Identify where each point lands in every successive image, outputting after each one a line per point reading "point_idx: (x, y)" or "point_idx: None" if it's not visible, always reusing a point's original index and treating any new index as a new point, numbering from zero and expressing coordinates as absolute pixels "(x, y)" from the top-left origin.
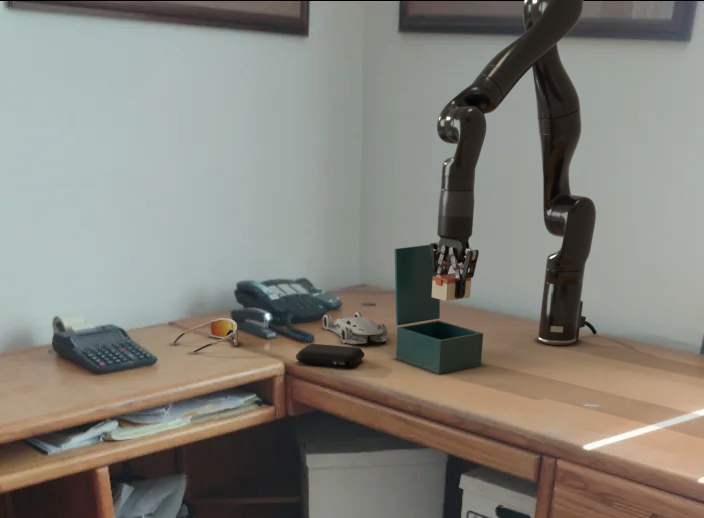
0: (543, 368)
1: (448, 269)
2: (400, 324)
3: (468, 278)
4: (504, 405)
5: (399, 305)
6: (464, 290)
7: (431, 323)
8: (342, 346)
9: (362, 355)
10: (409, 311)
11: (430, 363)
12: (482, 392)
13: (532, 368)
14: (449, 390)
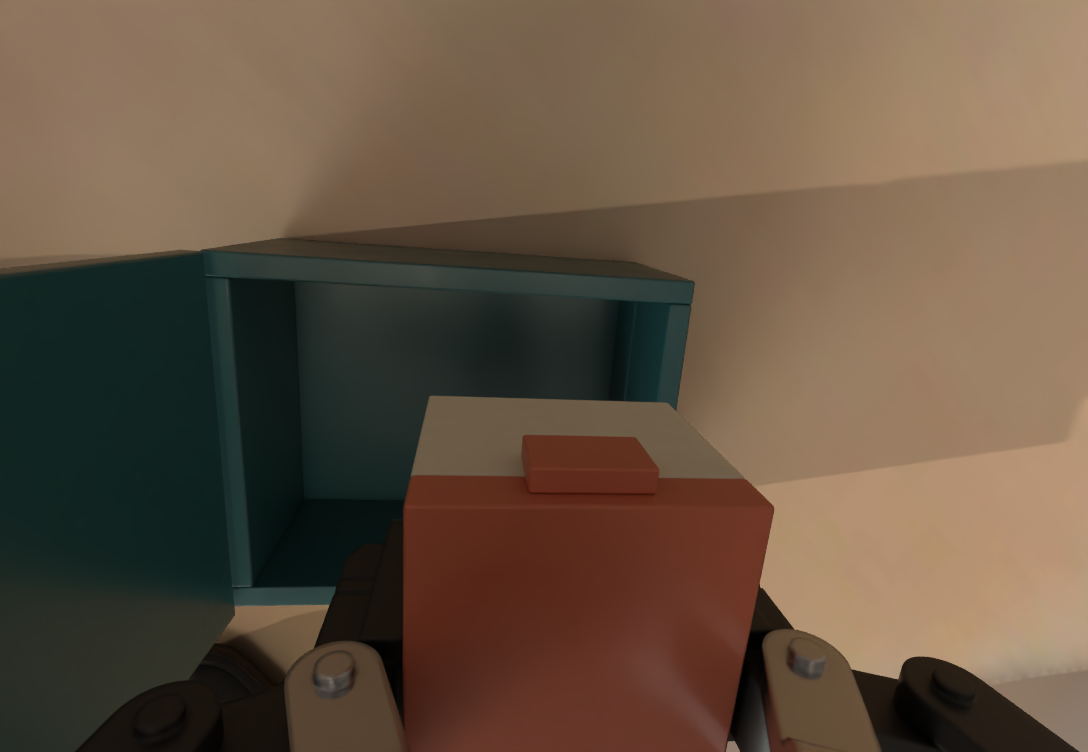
0: (882, 38)
1: (401, 732)
2: (232, 599)
3: (882, 681)
4: (1005, 564)
5: None
6: None
7: (237, 343)
8: None
9: (255, 681)
10: (180, 576)
11: None
12: (875, 528)
13: (841, 86)
14: (775, 601)
